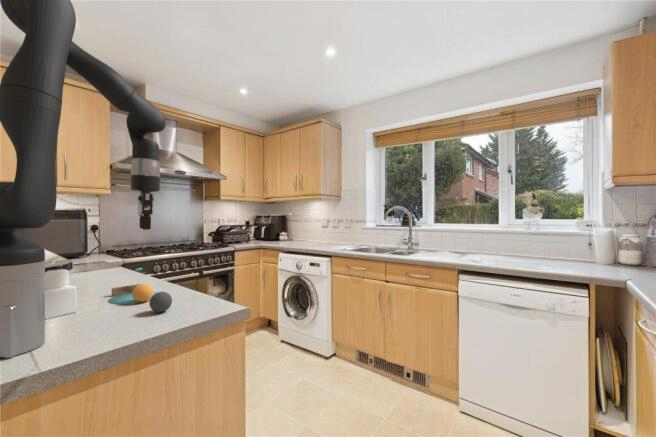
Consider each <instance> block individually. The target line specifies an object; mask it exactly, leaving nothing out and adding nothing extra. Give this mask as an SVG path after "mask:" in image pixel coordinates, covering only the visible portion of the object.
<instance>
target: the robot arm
mask: <svg viewBox="0 0 656 437" xmlns="http://www.w3.org/2000/svg"><path fill="white" fill-rule="evenodd" d="M0 6H1V8H2V11H3V12H4V14H5V16H6V17H7V18H8V20H10V22H11V23H12V24H13V25H15V26H16V28H18V29H19V30H20V31H21V32H22V33H24V34H25V35H24V38H23V41H22V44H21V46H20V47H19V49H18V50H17V52H16V53H15V55H14V56H13V58H12V59H11V61H10V63H9V64H8V66H7V67H6V69H5V71H4V72H3V75H2V77H1V80H0V124H1V125H2V128H3V129H4V132H5V133H6V135H7V136H8V138H9V140H10V141H11V143H12V145H13V148H14V151H15V155H16V167H15V168H16V169H15V175H14V180H13V181H0V357H4V358H3V359H11V358H13V357H16V356H17V355H18V356H19V355H21V354H24V353H27V352H31V351H33V350H35V349H37V348H40V347H41V346H43V345H44V344H45V342H46V320H45V270H46V251H45V248H44V246H42V245H40V244H37V243H34V242H33V241H31V240H30V239H28V238H27V236H26V235H25V232H24V229H39V228H42V227H43V228H44V226H46V225H48V223H50V222H51V221H52V219H53V218H54V216H55V212H56V208H57V196H58V195H57V154H58V153H57V152H58V151H57V149H58V139H59V138H58V136H59V129H60V124H61V123H60V122H61V118H62V117H61V116H62V108H63V106H62V105H63V93H64V85H65V77H66V68H67V66H68V67H69V68H70V69H71V70H73V71H74V72H75V73H77V74H78V75H79V76H81V78H83V79H84V80H85V81H87V82H88V84H90V85H91V86H92V87H93V88H94V89H95V90H96V91H97V92H99V94H100V95H101V96H103V97H104V98H105V99H106V100H107V102H109V103H110V104H111V105H112V106H113V107H114V108H116V109H117V110H119V111H121V112H126V113H128V114H127V116H126V119H125V120H126V121H125V122H126V128H127V131H128V135H129V139H130V142H131V146H132V149H131V150H132V151H131V153H132V154H131V166H130V190H131V191H135V192H139V193H140V194H139V195H138V196H137V200H136V202H137V211H138V212H137V213H138V216H139V228H140V229H142V230H144V231H145V230H146V231H147V230H151V228H152V224H151V223H152V216H153V213H154V211H153V210H154V195H153V193H158V192H160V190H161V189H160V188H161V186H160V185H161V168H160V145H159V144H158V142H156V141H154V140H151V139H150V138H149V134H152V133H153V134H155V133H161V132H163V131H164V130H165V129H166V126H167V122H166V121H167V120H166V118H165V115H164V114H163V112H162V111H161V110H160V109H159V108H158V106H156V105H155V104H153V103H152V102H150V101H149V100H148V99H147V98H145V97H144V96H142V95H140V94H139V93H137V91H135V90H134V88H133V87H132V86H131V85H130V83H128V81H126V79H124V77H123V76H122V75H121V74H120V73H118V72H117V71H116V70H115V69H114V68H112V67H111V66H109V65H108V64H106V62H104V61H102V60H100V59H98V58H97V57H95V56H93V54H90V53H89V52H88V51H86V50H84V49H83V48H82V47H80V46H79V45H78V44H76V43H75V42H74V41H73V38H74V35H75V34H74V33H75V30H76V25H77V16H76V10H75V8H74V5H73V3H72V1H71V0H0ZM152 192H153V193H152Z"/></svg>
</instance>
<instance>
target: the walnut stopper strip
mask: <svg viewBox="0 0 656 437" xmlns="http://www.w3.org/2000/svg"><path fill="white" fill-rule="evenodd" d="M140 284H141V283H138V284H130V285H125V286H118V287H111V297H115V296H118V295H122V294H127V293H132V292H133V290H134V288H135V287H136V286H138V285H140Z"/></svg>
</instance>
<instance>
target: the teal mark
mask: <svg viewBox="0 0 656 437" xmlns="http://www.w3.org/2000/svg"><path fill="white" fill-rule="evenodd" d="M156 293H158V292H157V291H153V295H154V294H156ZM153 295H152V296H153ZM150 299H151V298H150ZM150 299H149V300H148V301H145V302H150ZM145 302H144V303H145ZM108 303H110V304H113V305H133V304H139V303H140V304H141V303H142V302H138V301H136V300H135V299H134V298H133V296H132V293H127V294H122V295H118V296H111V298H109V299H108Z"/></svg>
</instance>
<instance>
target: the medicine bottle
mask: <svg viewBox="0 0 656 437" xmlns="http://www.w3.org/2000/svg"><path fill="white" fill-rule="evenodd" d="M77 289H78V288H77V286H74V285H71V284H70V270H69V269H66V268H61V267H60V268H48V269H45V321H47V320H49V319H50V320H51V319H54V318H58V317H62V316H68V315H70V314H71V315H73V314H75V313H77V311H78V310H77V307H78V305H77V300H78V299H77V297H78V296H77Z"/></svg>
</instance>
